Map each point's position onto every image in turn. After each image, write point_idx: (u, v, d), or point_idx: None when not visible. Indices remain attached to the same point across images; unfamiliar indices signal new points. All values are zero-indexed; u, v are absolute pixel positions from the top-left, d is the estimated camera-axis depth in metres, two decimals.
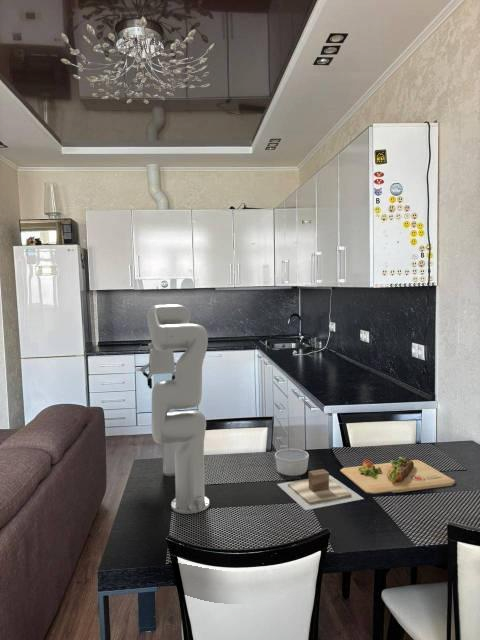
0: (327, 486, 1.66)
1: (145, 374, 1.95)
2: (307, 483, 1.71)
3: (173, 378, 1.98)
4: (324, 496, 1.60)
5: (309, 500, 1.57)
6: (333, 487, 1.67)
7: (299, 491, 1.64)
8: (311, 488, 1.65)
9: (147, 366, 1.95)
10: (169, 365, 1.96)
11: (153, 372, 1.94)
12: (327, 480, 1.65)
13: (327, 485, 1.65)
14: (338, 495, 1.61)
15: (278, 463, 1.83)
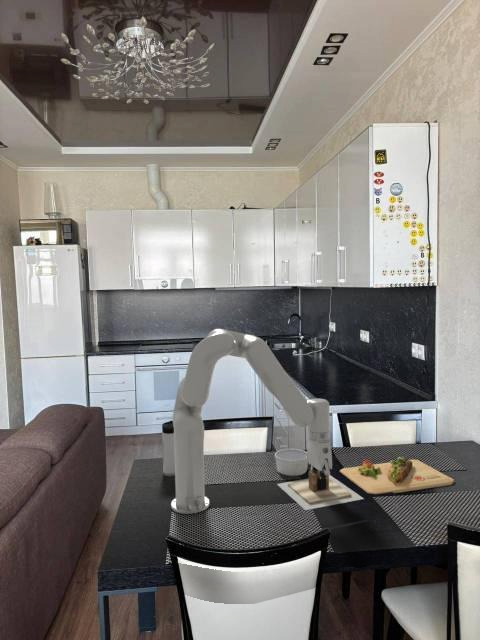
0: (327, 486, 1.66)
1: None
2: (307, 483, 1.71)
3: None
4: (324, 496, 1.60)
5: (309, 500, 1.57)
6: (333, 487, 1.67)
7: (299, 491, 1.64)
8: (311, 488, 1.65)
9: None
10: None
11: None
12: (327, 480, 1.65)
13: (327, 485, 1.65)
14: (338, 495, 1.61)
15: (278, 463, 1.83)
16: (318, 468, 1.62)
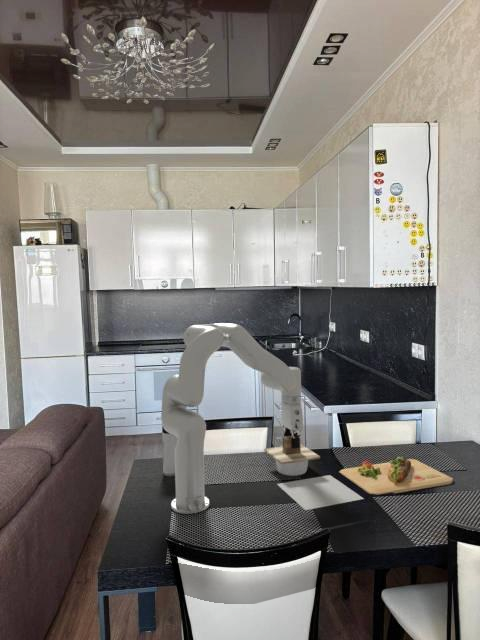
0: (299, 450, 1.85)
1: None
2: (282, 448, 1.90)
3: (291, 434, 1.88)
4: (296, 457, 1.80)
5: (281, 461, 1.77)
6: (304, 451, 1.87)
7: (274, 454, 1.84)
8: (284, 451, 1.84)
9: None
10: None
11: None
12: None
13: (299, 449, 1.85)
14: (308, 457, 1.80)
15: (278, 463, 1.83)
16: (290, 428, 1.81)
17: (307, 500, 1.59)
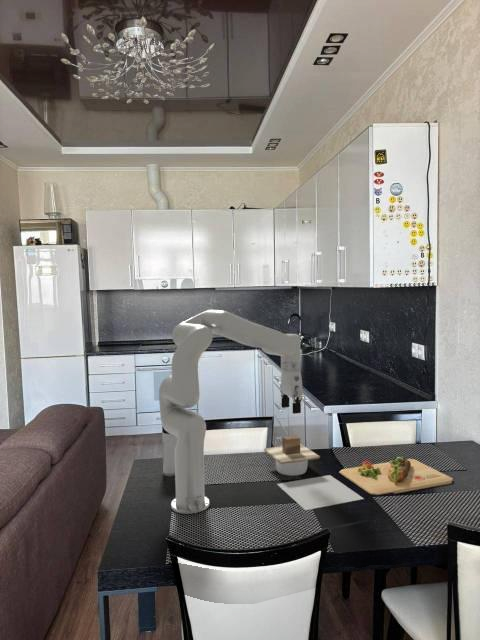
0: (299, 450, 1.85)
1: None
2: (282, 448, 1.90)
3: None
4: (295, 457, 1.80)
5: (281, 460, 1.77)
6: (304, 451, 1.87)
7: (273, 454, 1.84)
8: (284, 451, 1.84)
9: None
10: None
11: None
12: (298, 444, 1.85)
13: (299, 449, 1.85)
14: (308, 457, 1.80)
15: (278, 463, 1.83)
16: (290, 394, 1.80)
17: (307, 500, 1.59)
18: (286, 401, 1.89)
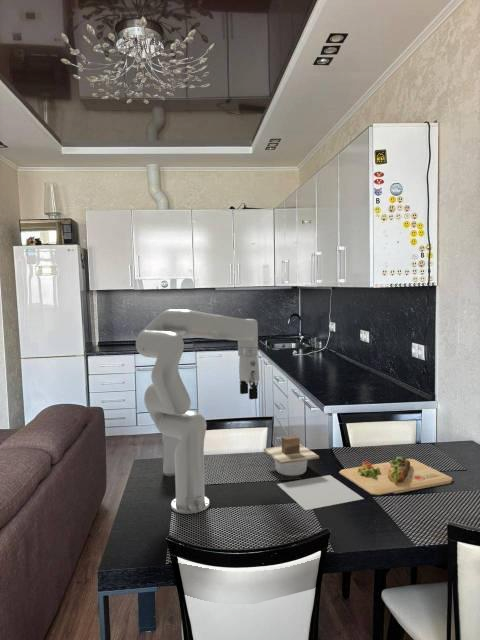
0: (298, 450, 1.85)
1: None
2: (281, 448, 1.90)
3: None
4: (295, 457, 1.80)
5: (280, 460, 1.77)
6: (304, 451, 1.87)
7: (273, 454, 1.84)
8: (284, 451, 1.84)
9: None
10: None
11: None
12: (298, 444, 1.85)
13: (298, 449, 1.85)
14: (307, 457, 1.80)
15: (277, 463, 1.83)
16: (246, 380, 1.78)
17: (307, 500, 1.59)
18: (245, 387, 1.87)
